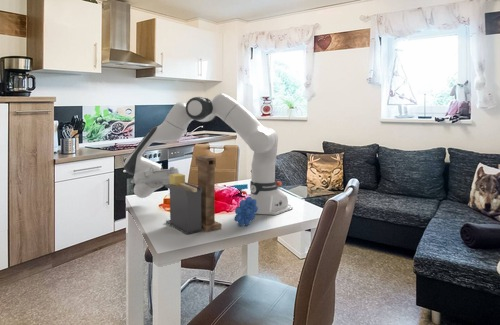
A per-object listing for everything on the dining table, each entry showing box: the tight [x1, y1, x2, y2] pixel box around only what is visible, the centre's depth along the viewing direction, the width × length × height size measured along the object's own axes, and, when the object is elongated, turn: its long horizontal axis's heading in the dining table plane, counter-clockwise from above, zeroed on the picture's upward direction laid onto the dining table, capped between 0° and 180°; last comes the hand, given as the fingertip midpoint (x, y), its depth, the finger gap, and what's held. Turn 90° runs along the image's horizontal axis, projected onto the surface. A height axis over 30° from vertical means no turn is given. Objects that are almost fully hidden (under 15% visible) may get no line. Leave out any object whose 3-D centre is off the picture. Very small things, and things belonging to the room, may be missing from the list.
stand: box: [194, 155, 222, 233], centre depth 147 cm, size 7×12×29 cm, turn 39°
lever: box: [230, 183, 249, 196], centre depth 207 cm, size 7×7×18 cm
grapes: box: [234, 196, 258, 227], centre depth 151 cm, size 12×7×12 cm, turn 128°
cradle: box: [164, 181, 204, 235], centre depth 147 cm, size 7×18×17 cm, turn 39°
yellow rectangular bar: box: [169, 172, 197, 192], centre depth 144 cm, size 4×17×4 cm, turn 39°
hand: (163, 169), depth 158 cm, fingers open, 8 cm apart
